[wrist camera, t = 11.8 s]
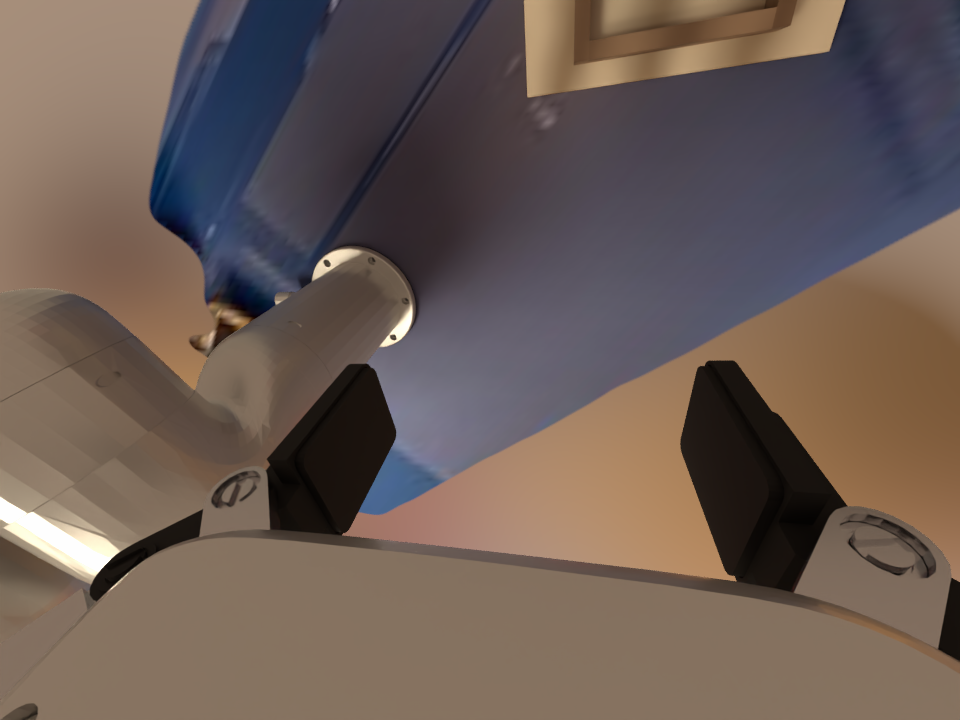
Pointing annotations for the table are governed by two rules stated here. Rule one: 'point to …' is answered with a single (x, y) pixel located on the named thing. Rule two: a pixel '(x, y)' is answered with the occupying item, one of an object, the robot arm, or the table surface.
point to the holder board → (664, 38)
